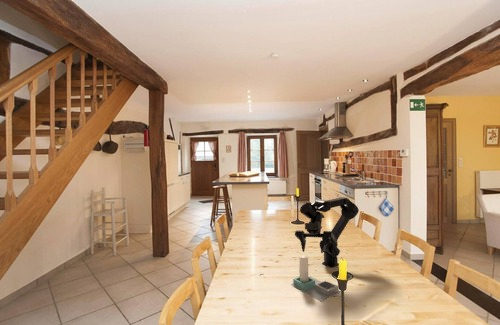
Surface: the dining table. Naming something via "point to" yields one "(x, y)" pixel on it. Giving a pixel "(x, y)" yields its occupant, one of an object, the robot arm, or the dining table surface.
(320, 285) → the grey socket
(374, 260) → the dining table surface
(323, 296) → the console board
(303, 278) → the plug
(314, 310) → the dining table surface
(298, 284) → the teal socket
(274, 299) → the dining table surface
